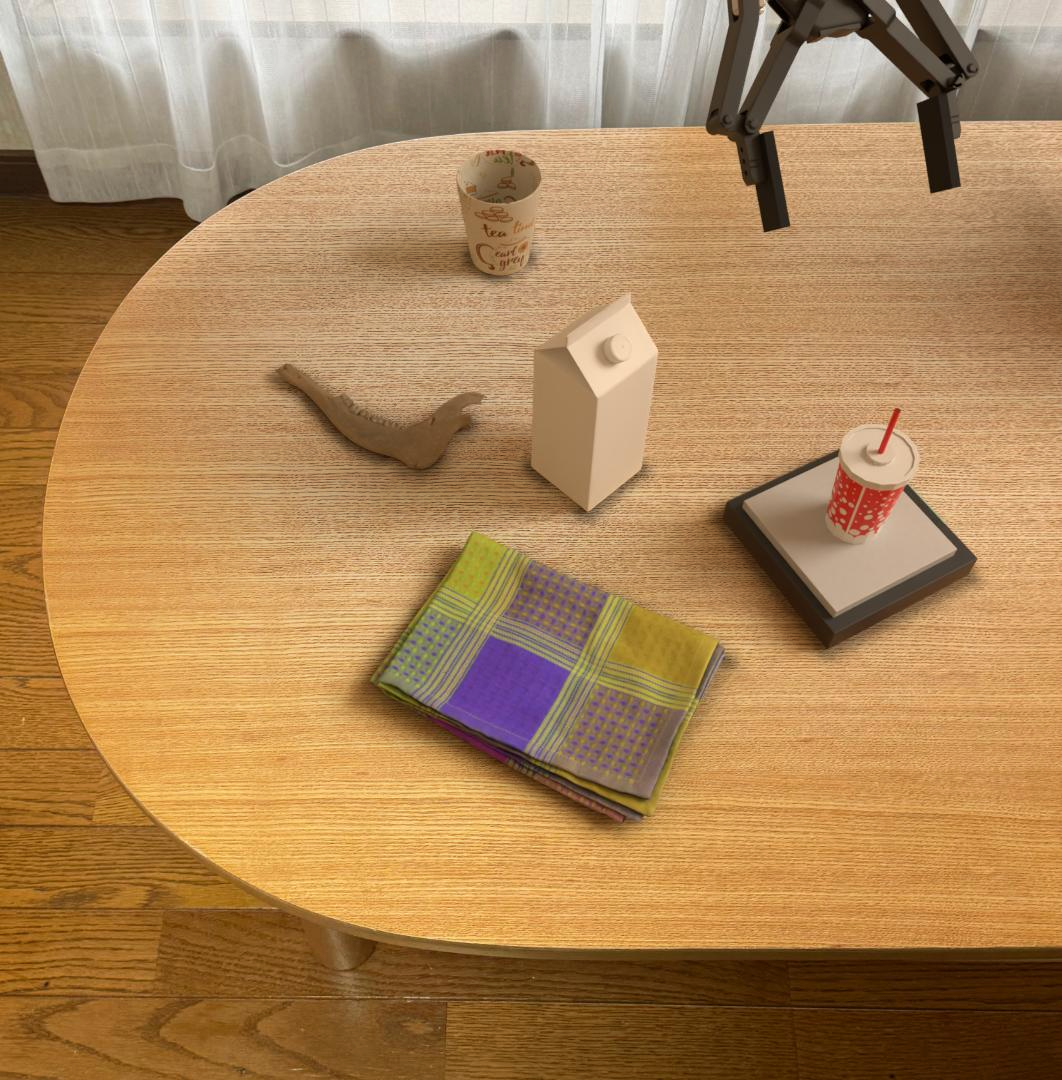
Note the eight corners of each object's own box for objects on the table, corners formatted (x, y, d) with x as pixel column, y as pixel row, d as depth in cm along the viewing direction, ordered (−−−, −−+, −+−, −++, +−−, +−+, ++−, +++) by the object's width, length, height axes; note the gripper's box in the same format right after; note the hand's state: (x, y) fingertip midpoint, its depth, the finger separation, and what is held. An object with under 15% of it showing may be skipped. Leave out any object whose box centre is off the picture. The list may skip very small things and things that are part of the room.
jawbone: (463, 484, 105) (461, 471, 103) (246, 445, 107) (241, 432, 106) (487, 404, 109) (486, 390, 107) (278, 369, 112) (274, 355, 110)
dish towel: (477, 535, 101) (476, 516, 99) (737, 657, 94) (743, 640, 92) (363, 693, 92) (359, 675, 90) (642, 840, 85) (645, 825, 83)
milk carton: (530, 468, 105) (533, 312, 90) (585, 426, 108) (597, 268, 93) (587, 514, 102) (601, 361, 87) (642, 469, 105) (664, 314, 90)
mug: (450, 276, 119) (445, 196, 111) (482, 198, 127) (480, 118, 118) (529, 290, 118) (530, 210, 110) (557, 211, 126) (560, 131, 117)
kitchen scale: (858, 454, 107) (867, 429, 104) (969, 574, 99) (983, 551, 96) (721, 518, 102) (727, 494, 99) (827, 649, 95) (837, 627, 92)
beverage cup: (900, 511, 99) (951, 399, 87) (873, 563, 96) (923, 454, 84) (832, 481, 100) (873, 368, 89) (804, 531, 97) (843, 421, 86)
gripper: (938, -112, 86) (981, 182, 90) (622, -57, 81) (683, 251, 85) (1002, -156, 79) (1046, 166, 83) (660, -99, 74) (725, 241, 78)
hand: (862, 210), depth 84 cm, fingers open, 13 cm apart
